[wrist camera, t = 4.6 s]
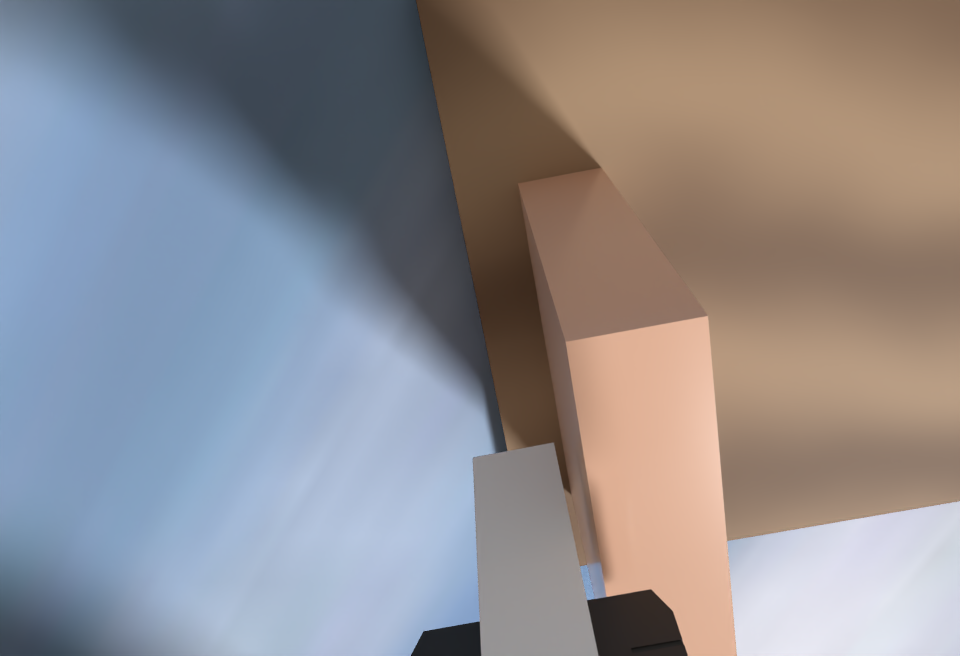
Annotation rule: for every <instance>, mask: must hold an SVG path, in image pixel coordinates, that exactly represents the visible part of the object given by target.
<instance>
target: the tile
mask: <svg viewBox="0 0 960 656" xmlns="http://www.w3.org/2000/svg"><path fill="white" fill-rule="evenodd" d="M518 187H519V193H520V199H521V205H522V211H523V216H524V222H525V228H526V234H527V240H528V246H529V251H530V257H531V263H532V269H533V275H534V281H535V286H536V292H537V298H538V304H539V310H540V316H541V321H542V327H543V333H544V339H545V345H546V351H547V356H548V362H549V368H550V374H551V380H552V386H553V391H554V397H555V403H556V409H557V415H558V421H559V426H560V432H561V438H562V444H563V450H564V455H565V461H566V467H567V473H568V479H569V485H570V490H571V496H572V500H573V505H574V509H575V514H576V518H577V522H578V527H579V531H580V536H581V540H582V545H583V549H584V553H585V558H586V562H587V567H588V571H589V576H590V580H591V584H592V589H593V593H594V598H595V599H598V598H604V597H609V596H615V595H621V594H626V593H632V592H638V591H643V590H649V589H651V590H652V591H653V592H654V593H655V594H656V595H657V596H658V597H659V598H660V599H661V600H662V601H663V602H664V603H665V604H666V605H667V606H668V607H669V608H670V609H671V610H672V611H673V613H674V616H675V619H676V622H677V625H678V628H679V631H680V634H681V637H682V640H683V644H684V645H685V648H686V651H687V654H688V656H737V654H736V642H735V630H734V618H733V606H732V594H731V583H730V571H729V559H728V547H727V535H726V523H725V511H724V499H723V487H722V476H721V464H720V452H719V440H718V428H717V416H716V404H715V392H714V380H713V369H712V357H711V345H710V333H709V321H708V315H707V314H706V312H705V311H704V310H703V308H702V307H701V305H700V304H699V303H698V301H697V300H696V298H695V297H694V296H693V294H692V293H691V291H690V290H689V289H688V287H687V286H686V284H685V283H684V282H683V280H682V279H681V278H680V276H679V275H678V273H677V272H676V271H675V269H674V268H673V266H672V265H671V264H670V262H669V261H668V259H667V258H666V257H665V255H664V254H663V252H662V251H661V250H660V248H659V247H658V246H657V244H656V243H655V241H654V240H653V239H652V237H651V236H650V234H649V233H648V232H647V230H646V229H645V227H644V226H643V225H642V223H641V222H640V220H639V219H638V218H637V216H636V215H635V213H634V212H633V211H632V209H631V208H630V207H629V205H628V204H627V202H626V201H625V200H624V198H623V197H622V195H621V194H620V193H619V191H618V190H617V188H616V187H615V186H614V184H613V183H612V181H611V180H610V179H609V177H608V176H607V175H606V173H605V172H604V170H603V169H602V168H596V169H591V170H586V171H580V172H575V173H570V174H565V175H560V176H554V177H549V178H544V179H539V180H533V181H528V182H523V183H518Z"/></svg>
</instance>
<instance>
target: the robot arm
mask: <svg viewBox="0 0 960 656" xmlns="http://www.w3.org/2000/svg"><path fill="white" fill-rule="evenodd" d="M473 475H474V498H475V521H476V544H477V568H478V591H479V614H480V622H474V623H468V624H463V625H457V626H451V627H446V628H440V629H434V630H429V631H424V632H423V634H422V635H421V637H420V639H419V641H418V643H417V645H416V647H415V649H414V651H413V653H412V654H411V656H688V654H687V651H686V648H685V645H684V644H683V640H682V637H681V634H680V631H679V628H678V625H677V622H676V619H675V616H674V613H673V611H672V610H671V609H670V608H669V607H668V606H667V605H666V604H665V603H664V602H663V601H662V600H661V599H660V598H659V597H658V596H657V595H656V594H655V593H654V592H653V591H652V590H651V589H649V590H643V591H638V592H632V593H626V594H621V595H615V596H609V597H604V598H598V599H592V600H587V599H586V594H585V589H584V584H583V580H582V575H581V570H580V565H579V561H578V556H577V551H576V546H575V541H574V537H573V532H572V527H571V522H570V518H569V513H568V508H567V503H566V499H565V494H564V489H563V484H562V479H561V475H560V470H559V465H558V460H557V456H556V451H555V446H554V443H548V444H543V445H538V446H532V447H527V448H522V449H516V450H511V451H505V452H500V453H495V454H489V455H484V456H479V457H473Z"/></svg>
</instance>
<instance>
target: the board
mask: <svg viewBox="0 0 960 656" xmlns="http://www.w3.org/2000/svg"><path fill="white" fill-rule="evenodd" d="M416 3H417V8H418V13H419V18H420V23H421V27H422V32H423V37H424V42H425V47H426V52H427V57H428V62H429V67H430V72H431V77H432V82H433V87H434V91H435V96H436V101H437V106H438V111H439V116H440V121H441V126H442V131H443V136H444V141H445V146H446V151H447V155H448V160H449V165H450V170H451V175H452V180H453V185H454V190H455V195H456V200H457V205H458V210H459V215H460V219H461V224H462V229H463V234H464V239H465V244H466V249H467V254H468V259H469V264H470V269H471V274H472V279H473V283H474V288H475V293H476V298H477V303H478V308H479V313H480V318H481V323H482V328H483V333H484V338H485V343H486V347H487V352H488V357H489V362H490V367H491V372H492V377H493V382H494V387H495V392H496V397H497V402H498V407H499V411H500V416H501V421H502V426H503V431H504V436H505V441H506V446H507V451H511V450H516V449H522V448H527V447H532V446H538V445H543V444H548V443H554V446H555V451H556V456H557V460H558V465H559V470H560V475H561V479H562V484H563V489H564V494H565V499H566V503H567V508H568V513H569V518H570V522H571V527H572V532H573V537H574V541H575V546H576V551H577V556H578V561H579V565H580V566H583V565H587V562H586V558H585V553H584V549H583V545H582V540H581V536H580V531H579V527H578V522H577V518H576V514H575V509H574V505H573V500H572V496H571V490H570V485H569V479H568V473H567V467H566V461H565V455H564V450H563V444H562V438H561V432H560V426H559V421H558V415H557V409H556V403H555V397H554V391H553V386H552V380H551V374H550V368H549V362H548V356H547V351H546V345H545V339H544V333H543V327H542V321H541V316H540V310H539V304H538V298H537V292H536V286H535V281H534V275H533V269H532V263H531V257H530V251H529V246H528V240H527V234H526V228H525V222H524V216H523V211H522V205H521V199H520V193H519V187H518V183H523V182H528V181H533V180H539V179H544V178H549V177H554V176H560V175H565V174H570V173H575V172H580V171H586V170H591V169H596V168H602V169H603V170H604V172H605V173H606V175H607V176H608V177H609V179H610V180H611V181H612V183H613V184H614V186H615V187H616V188H617V190H618V191H619V193H620V194H621V195H622V197H623V198H624V200H625V201H626V202H627V204H628V205H629V207H630V208H631V209H632V211H633V212H634V213H635V215H636V216H637V218H638V219H639V220H640V222H641V223H642V225H643V226H644V227H645V229H646V230H647V232H648V233H649V234H650V236H651V237H652V239H653V240H654V241H655V243H656V244H657V246H658V247H659V248H660V250H661V251H662V252H663V254H664V255H665V257H666V258H667V259H668V261H669V262H670V264H671V265H672V266H673V268H674V269H675V271H676V272H677V273H678V275H679V276H680V278H681V279H682V280H683V282H684V283H685V284H686V286H687V287H688V289H689V290H690V291H691V293H692V294H693V296H694V297H695V298H696V300H697V301H698V303H699V304H700V305H701V307H702V308H703V310H704V311H705V312H706V314H707V315H708V321H709V333H710V345H711V357H712V369H713V380H714V392H715V404H716V416H717V428H718V440H719V452H720V464H721V476H722V487H723V499H724V511H725V523H726V535H727V541H729V540H735V539H741V538H747V537H753V536H759V535H764V534H770V533H776V532H782V531H788V530H794V529H799V528H805V527H811V526H817V525H823V524H829V523H835V522H840V521H846V520H852V519H858V518H864V517H870V516H875V515H881V514H887V513H893V512H899V511H905V510H910V509H916V508H922V507H928V506H934V505H940V504H946V503H951V502H957V501H960V0H416Z"/></svg>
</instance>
